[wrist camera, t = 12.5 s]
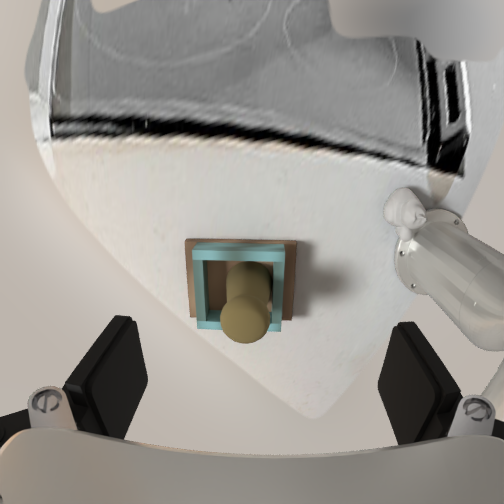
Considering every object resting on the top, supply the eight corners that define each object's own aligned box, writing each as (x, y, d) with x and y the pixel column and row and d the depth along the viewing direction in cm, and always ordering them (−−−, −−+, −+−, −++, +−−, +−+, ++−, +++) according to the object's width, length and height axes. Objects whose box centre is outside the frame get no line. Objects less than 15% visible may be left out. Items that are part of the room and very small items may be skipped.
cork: (270, 258, 41) (271, 298, 30) (274, 300, 43) (277, 350, 32) (222, 263, 41) (208, 304, 31) (229, 305, 43) (219, 354, 33)
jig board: (295, 240, 41) (299, 251, 37) (291, 316, 45) (293, 332, 41) (186, 238, 41) (178, 249, 38) (192, 312, 45) (185, 328, 41)
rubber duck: (415, 185, 38) (445, 196, 30) (413, 233, 40) (440, 253, 32) (379, 185, 38) (404, 195, 31) (377, 235, 40) (400, 255, 33)
